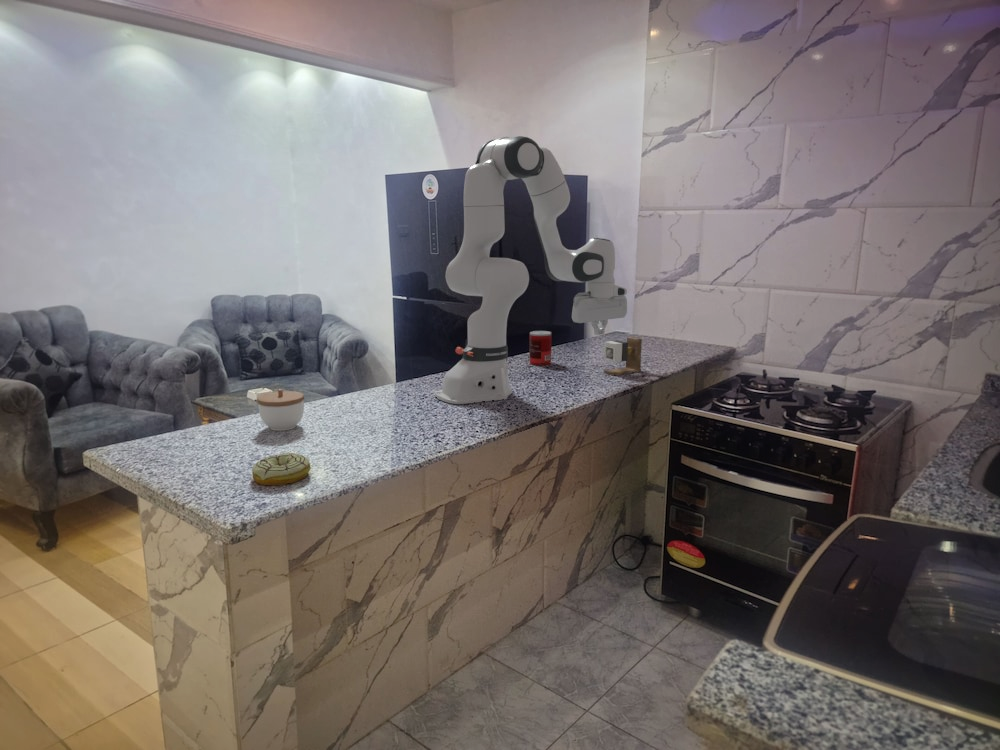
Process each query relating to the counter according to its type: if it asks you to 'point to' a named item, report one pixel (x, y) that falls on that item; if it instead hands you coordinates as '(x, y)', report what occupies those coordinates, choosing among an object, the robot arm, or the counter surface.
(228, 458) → the counter surface
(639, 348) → the pipe stand
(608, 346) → the sleeve
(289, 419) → the lidded jar
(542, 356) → the canned food
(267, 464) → the decorated donut
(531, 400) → the counter surface
